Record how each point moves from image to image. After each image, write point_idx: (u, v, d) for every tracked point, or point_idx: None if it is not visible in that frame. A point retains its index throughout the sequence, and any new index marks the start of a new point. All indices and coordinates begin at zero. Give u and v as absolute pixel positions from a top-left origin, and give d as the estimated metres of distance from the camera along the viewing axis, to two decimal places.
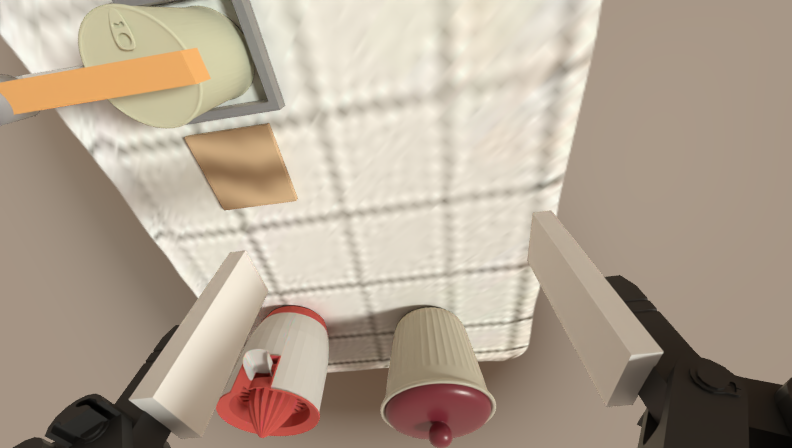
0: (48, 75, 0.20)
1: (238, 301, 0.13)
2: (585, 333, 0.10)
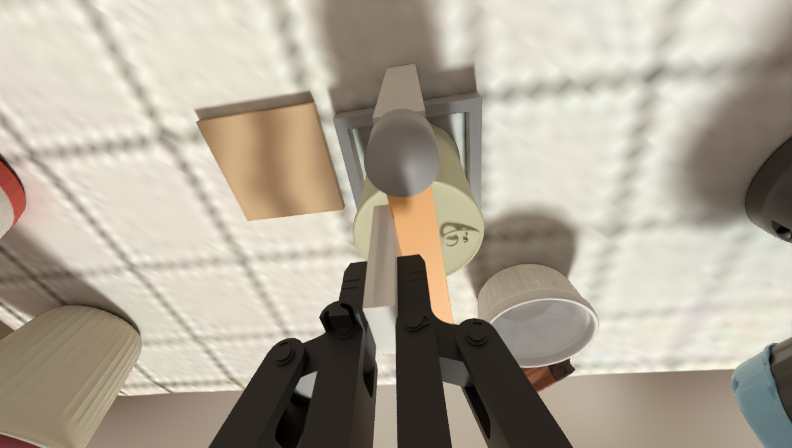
0: (440, 256, 0.15)
1: None
2: None
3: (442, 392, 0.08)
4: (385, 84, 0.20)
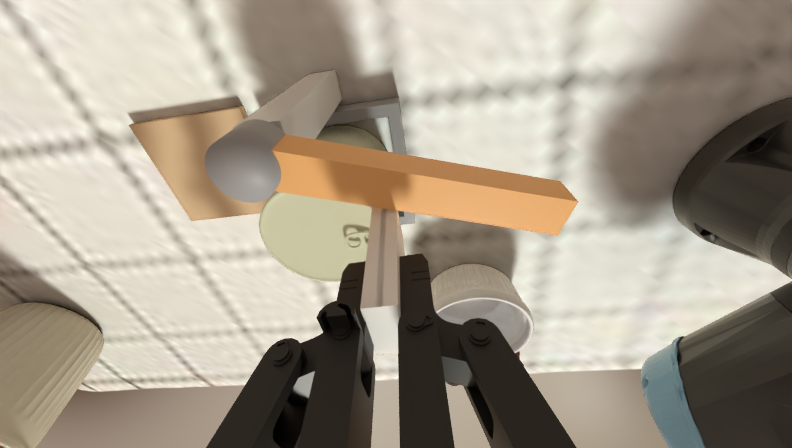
0: (374, 169, 0.13)
1: None
2: None
3: (445, 392, 0.08)
4: (285, 92, 0.21)
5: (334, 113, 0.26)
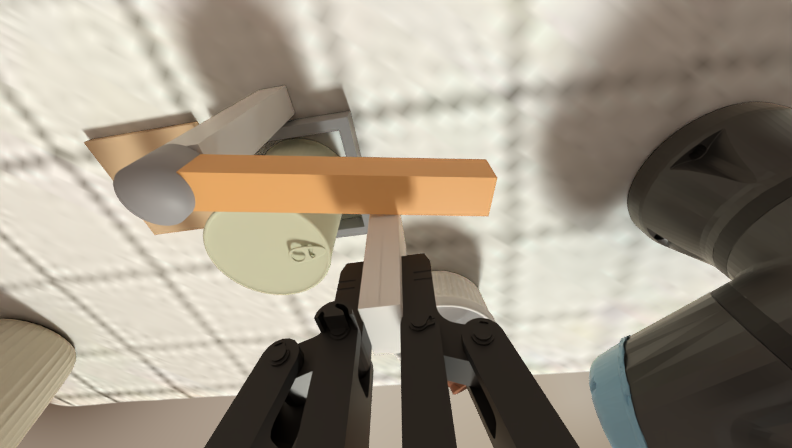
0: (279, 175, 0.13)
1: None
2: None
3: (447, 392, 0.08)
4: (225, 110, 0.21)
5: (285, 128, 0.27)
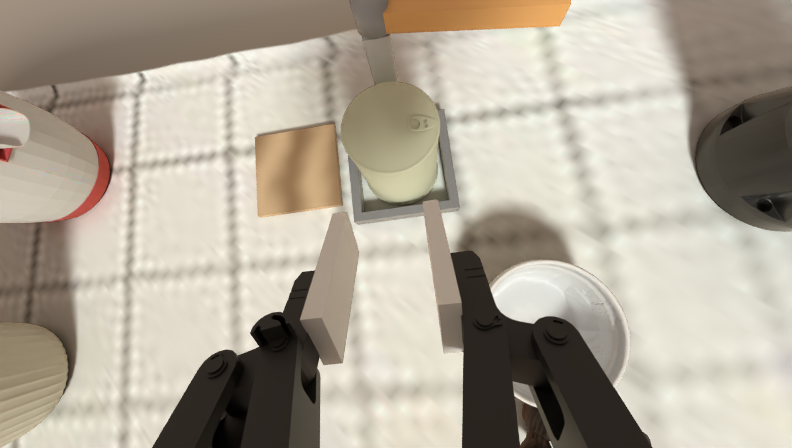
0: None
1: (347, 255, 0.14)
2: None
3: (512, 398, 0.07)
4: None
5: None
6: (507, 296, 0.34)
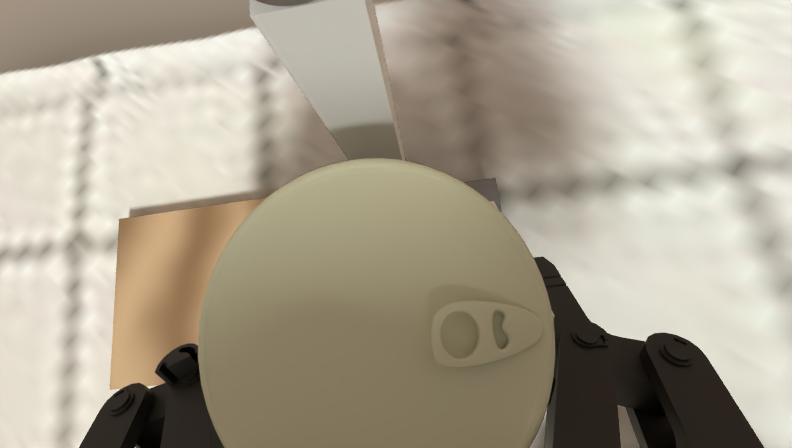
0: None
1: None
2: None
3: (617, 430, 0.06)
4: None
5: None
6: None
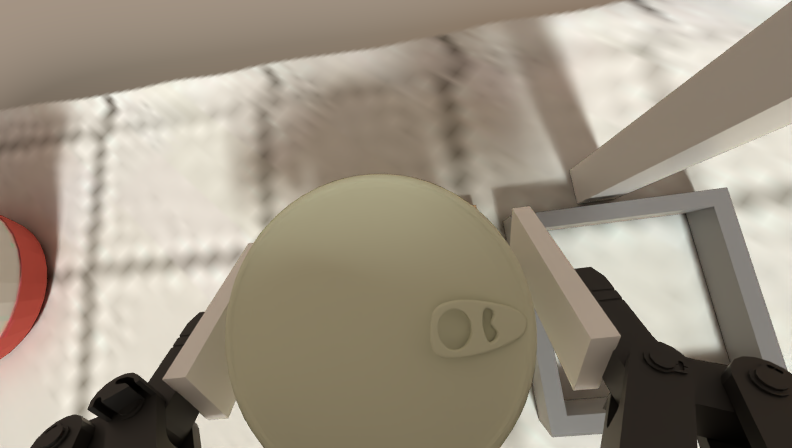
0: None
1: None
2: (556, 321, 0.10)
3: None
4: None
5: (627, 202, 0.18)
6: None
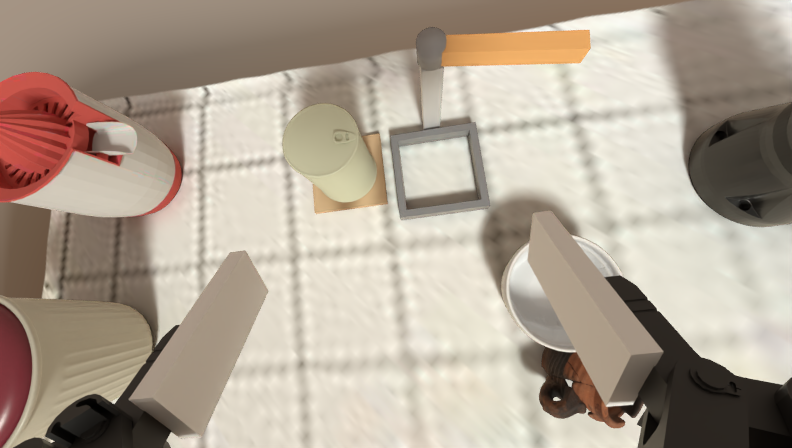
0: (488, 34, 0.30)
1: (238, 301, 0.13)
2: (585, 333, 0.10)
3: None
4: None
5: (437, 128, 0.44)
6: (525, 268, 0.41)
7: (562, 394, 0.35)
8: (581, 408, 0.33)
